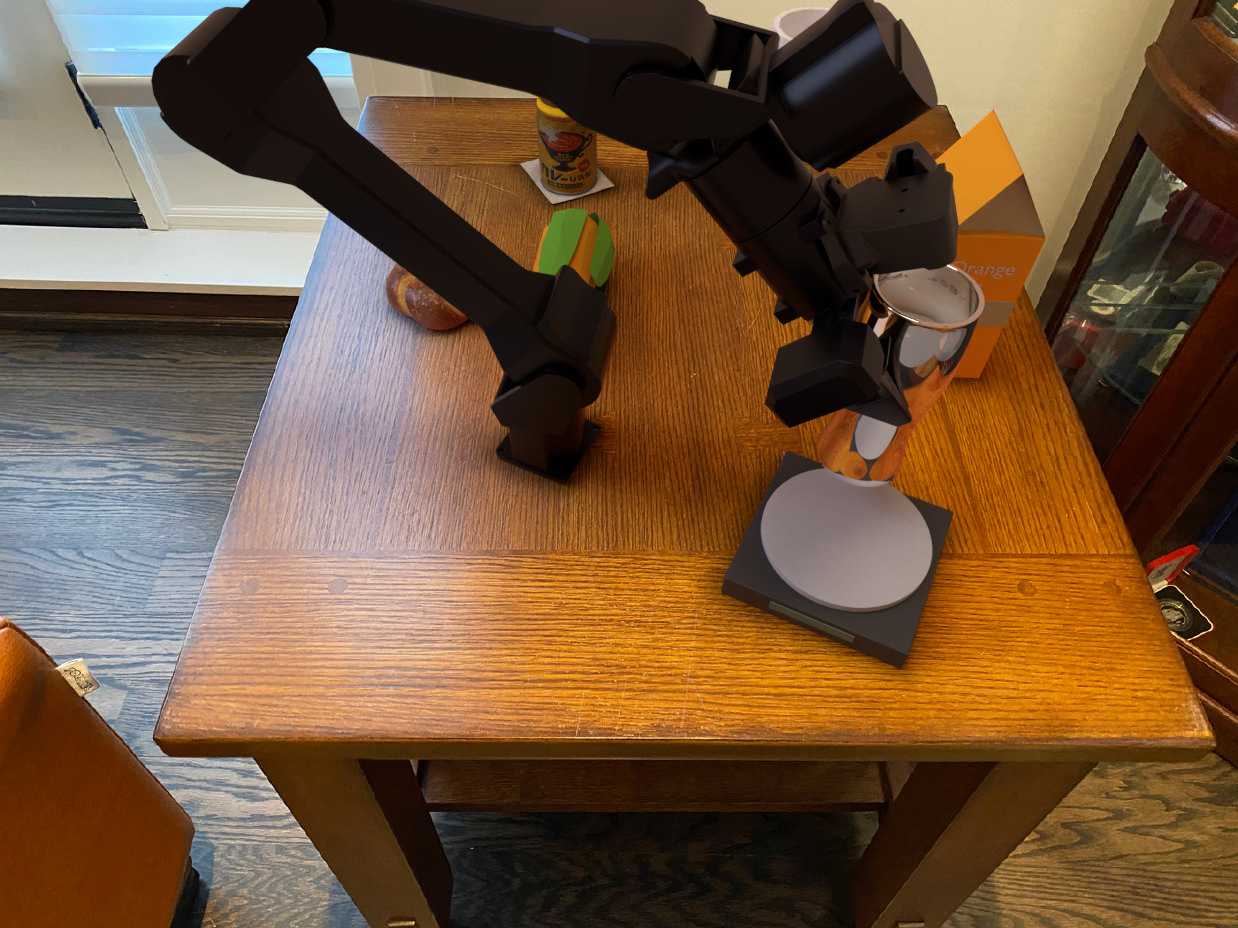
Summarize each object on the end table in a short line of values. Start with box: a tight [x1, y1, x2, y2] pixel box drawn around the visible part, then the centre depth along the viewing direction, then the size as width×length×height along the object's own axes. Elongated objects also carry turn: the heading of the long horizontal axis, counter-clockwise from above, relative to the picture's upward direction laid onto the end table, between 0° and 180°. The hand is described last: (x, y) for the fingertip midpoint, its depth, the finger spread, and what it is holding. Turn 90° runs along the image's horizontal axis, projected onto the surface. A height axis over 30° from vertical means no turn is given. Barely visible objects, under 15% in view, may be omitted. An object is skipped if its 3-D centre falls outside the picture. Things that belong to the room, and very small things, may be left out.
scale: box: [720, 450, 954, 669], centre depth 62 cm, size 13×13×3 cm
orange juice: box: [934, 108, 1047, 379], centre depth 70 cm, size 8×9×20 cm
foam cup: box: [771, 6, 831, 49], centre depth 94 cm, size 10×9×13 cm
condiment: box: [519, 97, 615, 205], centre depth 89 cm, size 7×8×12 cm
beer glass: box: [816, 264, 985, 487], centre depth 56 cm, size 7×7×15 cm
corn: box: [532, 207, 616, 294], centre depth 77 cm, size 7×8×20 cm
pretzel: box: [385, 263, 470, 331], centre depth 80 cm, size 12×11×4 cm
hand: (908, 384), depth 56 cm, fingers closed on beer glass, 7 cm apart
